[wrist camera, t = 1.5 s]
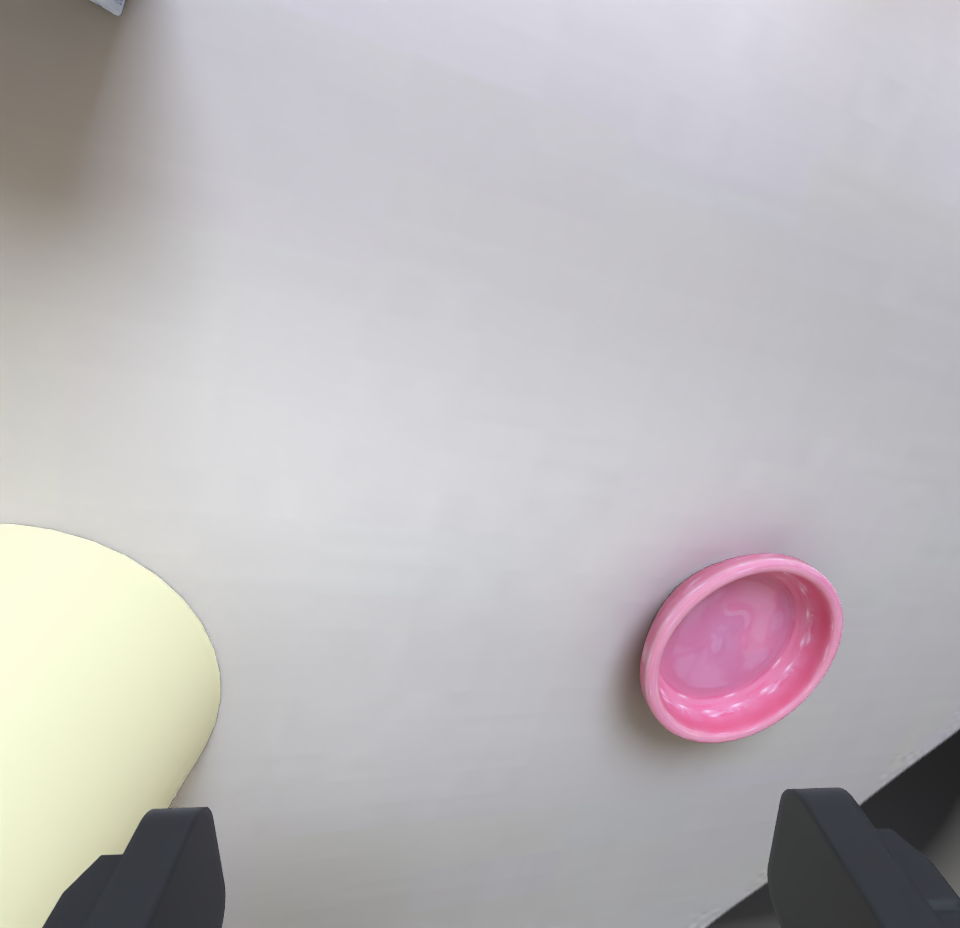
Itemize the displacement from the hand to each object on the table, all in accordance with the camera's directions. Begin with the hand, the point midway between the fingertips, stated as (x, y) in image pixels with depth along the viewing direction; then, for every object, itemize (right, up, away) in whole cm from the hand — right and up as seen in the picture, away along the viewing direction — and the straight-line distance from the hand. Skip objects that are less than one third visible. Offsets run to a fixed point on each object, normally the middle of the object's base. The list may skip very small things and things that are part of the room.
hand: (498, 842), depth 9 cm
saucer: (+14, -4, +31) cm, 34 cm away
